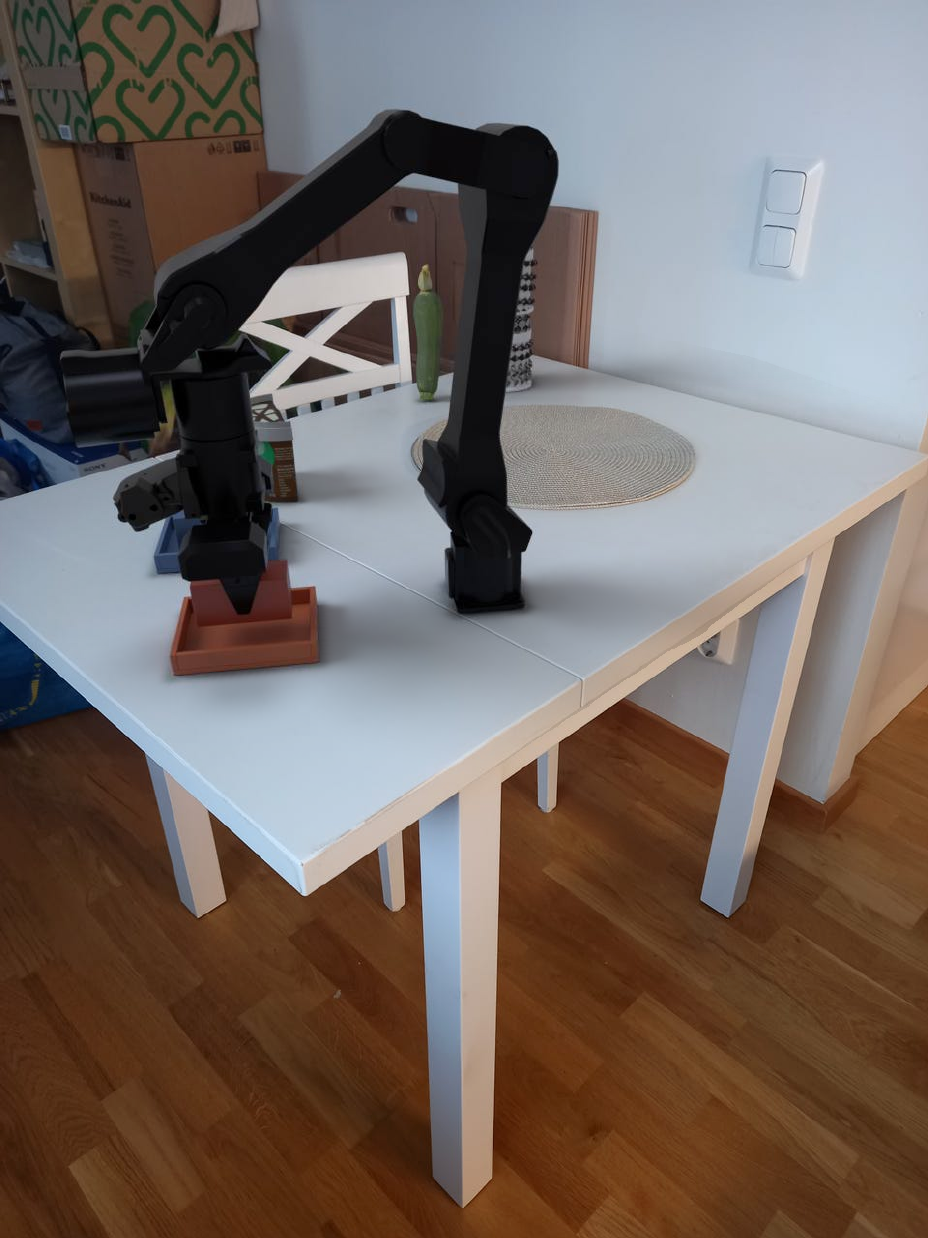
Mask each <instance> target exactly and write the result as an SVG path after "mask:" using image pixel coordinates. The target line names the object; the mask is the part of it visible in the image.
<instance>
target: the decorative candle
mask: <svg viewBox="0 0 928 1238" xmlns="http://www.w3.org/2000/svg"><path fill="white" fill-rule="evenodd" d="M538 264H539V262H538V260H536V258H534V248H533V245H532V246H531V248H530V250H529V252H528V254H527V256H526V258H525V261H524V265H523V272H522V279H521V286H520V293H519V300H518V307H517V315H516V322H515V329H514V336H513V343H512V350H511V357H510V364H509V371H508V378H507V385H506V392H505V393H513V392H520V391H524V390H527V389H529V388H531V386H532V385H533V384H532V380H531V378H532V377H533V371H532V370H531V368H533V366H534V365H533V361H532V359H531V357H532V356H533V350H532V348H531V347H533V346H534V342H533V339H532V327H531V314H532V312H533V311H534V309H535V307H534V304H535V302H536V300H535V298H533V297H532V296H531V292H533V291H535V290H536V289H537V286H536V285H535V284H534V283H533V281H534V280H536V279H537V274H536V273H534V272H533V271H532V269H534V267H535V266H537V265H538Z"/></svg>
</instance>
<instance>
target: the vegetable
mask: <svg viewBox="0 0 928 1238" xmlns="http://www.w3.org/2000/svg"><path fill="white" fill-rule="evenodd" d="M429 267H430V266H429V264H425V265H423V266H422V267H421V271H420V273H419V276H418V280H417V281H418V282H417V285H418V288H419V290H420V292H419V293H418V294H417V295H416V296H415V298H414V301H413V304H412V305H413V306H412V307H413V308H412V315H413V321H414V327H415V333H416V347H417V349H416V350H417V353H416V363H415V364H416V365H415V374H416V375H415V376H416V387H417V390H418V392H419V398H420V401H421V402H424V401H427V402H429V401H432V400H434V396H435V393H436V392H437V390H438V385H439V377H440V368H441V367H440V366H441V349H442V348H441V347H442V345H441V344H442V337H443V331H444V330H443V329H444V309H443V304H442V300H441V298H440V295H438V293H436V292H435V290H432V289H433V281H432V280H433V279H432V278H431V272H430V270H429V269H430V268H429Z"/></svg>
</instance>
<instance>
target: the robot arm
mask: <svg viewBox="0 0 928 1238" xmlns="http://www.w3.org/2000/svg"><path fill="white" fill-rule="evenodd" d="M559 165H560V160H559V155H558V152H557V150H556V149H555V147H554V146H553V144H552V142H551V141H550V139H549V138H548V136H546V135H545V133H543V132H542V131H541V130H539V129H538V128H535V127H532V126H530V125H524V124H515V123H504V122H503V123H502V122H489V123H485V124H482V125H480V126H478V127H476V128H475V129H473V128H469V127H464V126H460V125H456V124H453V123H448V122H442V121H439V120H435V119H431V118H426V117H423V116H421V115H420V114H419V113H418V112H415V111H412V110H410V109H400V108H391V109H385V110H382V111H380V112H379V113H377V114H376V115H375V116H374V117H373V118H372V120H371V121H370V122H369V124H368V125H367V126H366V128H364V129H363V130H361V131H360V132H359V133H358V134H356V135H355V136H354V137H352V138H351V139H350V140H349V141H347V142H346V143H345V144H344V145H342V146H341V147H340V148H339V149H337V150H336V151H335V152H334V153H333V154H331V155H330V156H329V157H327V158H326V159H325V160H323V161H322V162H321V163H319V164H318V165H317V166H315V168H313V169H311V171H309V172H308V173H307V174H306V175H304V176H303V177H302V178H300V179H299V180H298V181H296V183H294V184H293V185H292V186H290V187H289V188H288V189H287V190H285V191H284V192H283V193H282V194H280V195H279V196H278V197H276V198H275V199H274V200H273V201H271V202H270V203H269V204H268V205H266V206H265V207H264V208H262V209H260V211H259V212H257V213H256V214H255V215H253V216H252V217H251V218H249V220H247V221H245V222H243V223H241V224H239V225H237V226H234V227H233V228H231V229H228V230H226V231H223V232H220V233H219V234H216V235H213V236H211V237H209V238H206V239H204V240H203V241H200V242H198V243H196V244H194V245H193V246H191V247H189V248H187V249H184V250H183V251H181V252H179V253H177V254H175V255H173V256H171V257H170V258H168V259H166V260H165V262H163V264H162V265H161V266H160V267H159V268H158V270H157V272H156V274H155V276H154V281H153V298H154V303H155V307H154V309H153V311H152V312H151V314H150V316H149V318H148V320H147V322H146V323H145V325H144V327H143V328H142V329H140V335H139V336H138V338H137V346H135V347H123V348H114V349H113V348H112V349H103V350H86V349H72V350H70V349H69V350H63V351H62V352H61V353H60V358H59V364H60V368H61V372H62V377H63V386H64V391H65V397H66V407H65V408H66V409H65V411H66V416H67V421H68V424H69V428H70V432H71V435H72V438H73V440H74V443H75V446H76V448H85V447H86V448H87V447H95V446H102V445H110V444H119V443H127V442H138V441H144V440H146V441H147V440H153V439H156V433H159V432H160V433H161V431H162V430H161V425H165V424H169V423H168V422H169V421H168V415H167V411H166V406H165V400H164V395H163V389H162V383H161V382H165V381H169V384H170V385H169V386H170V390H171V395H172V396H171V397H172V400H173V406H174V411H175V417H176V423H177V428H178V433H179V439H180V449H179V452H178V453H176V456H175V457H172V458H168V459H165V460H163V461H160V462H158V463H155V464H153V465H151V466H147V467H146V468H144V469H141V470H139V471H137V472H134V473H132V474H130V475H128V476H126V477H125V478H123V479H122V480H120V482H119V484H118V485H117V488H116V491H115V492H114V494H113V497H112V499H113V501H114V503H113V505H114V507H115V508H116V509H117V520H118V521H119V522H120V523H124V524H127V523H128V525H129V526H130V527H131V528H132V530H133V531H134V532H135V533H139V532H143V531H146V530H148V529H149V528H150V526H151V525H154V524H155V523H158V522H160V521H162V520H165V519H166V518H168V517H170V516H172V515H175V514H177V513H179V512H180V511H182V510H184V515H185V519H196V518H200V522H201V523H202V524H203V525H193V526H192V528H191V529H190V530H189V531H188V532H187V533H186V534H185V536H184V537H183V539H182V543H181V547H180V550H179V554H178V561H179V566H180V571H181V572H180V575H181V579H182V580H184V581H186V582H187V583H189V582H190V583H191V582H192V581H205V580H217V579H219V580H220V582H221V584H222V586H223V588H224V590H225V592H226V594H227V596H228V598H229V600H230V601H231V603H232V605H233V607H234V609H235V611H236V613H237V614H238V615H248V614H250V613H251V609H252V606H253V602H254V599H255V596H256V592H257V589H258V585H259V582H260V579H261V576H262V574H264V573H266V572H267V560H268V551H269V541H267V540H266V537H267V532H268V528H269V524H270V520H271V514H272V508H273V504H272V502H265V501H264V499H265V492H266V494H273V487H274V480H273V473H272V465H271V464H270V463H269V462H268V461H267V460H265V459H264V458H263V457H261V456H260V455H258V446H259V437H258V430H255V427H254V421H253V414H252V406H251V399H250V398H251V393H250V385H249V377H248V373H256V372H267V371H270V370H272V368H273V363H272V360H271V359H270V357H269V356H268V354H267V352H266V350H264V349H262V348H261V347H259V346H257V345H256V344H254V342H253V341H252V340H251V339H250V338H249V336H248V335H247V333H245V332H241V333H240V334H239V336H238V337H237V339H236V340H235V341H234V342H233V343H232V344H231V345H225V344H226V343H228V342H229V341H230V340H231V339H232V338H233V337H234V336H235V334H236V333H237V332H238V331H239V330H240V329H241V328H242V327H243V326H244V325H245V324H246V322H247V321H248V320H249V318H250V317H252V315H253V314H254V313H255V312H256V311H257V309H259V307H260V306H261V304H262V303H263V301H264V300H265V298H266V297H267V295H268V294H269V292H270V291H271V289H272V288H273V286H274V285H275V283H276V282H278V280H279V279H280V278H281V277H282V275H283V274H285V272H286V271H287V270H289V269H290V268H291V267H292V266H294V265H295V264H296V263H298V262H299V261H301V259H302V258H304V257H305V256H306V255H307V254H309V253H311V251H313V250H314V249H315V248H317V247H318V246H319V245H320V244H322V243H323V242H324V241H326V240H327V239H328V238H330V236H331V235H334V234H335V233H336V232H337V231H338V230H340V229H341V228H342V227H344V226H345V225H346V224H347V223H349V222H350V221H351V220H352V219H354V218H356V217H357V216H358V215H359V214H360V213H361V212H362V211H364V210H366V209H367V208H368V207H369V206H370V205H371V204H373V203H374V202H375V201H376V200H378V199H380V198H381V197H382V196H383V195H384V194H386V193H387V192H388V191H389V190H391V189H392V188H393V187H394V186H396V185H397V184H398V183H400V182H401V181H402V180H403V179H405V178H406V177H408V176H410V175H412V174H415V175H421V176H424V177H429V178H432V179H433V178H434V179H437V180H442V181H445V182H450V183H455V184H457V194H458V195H457V196H458V209H459V214H460V220H461V226H462V230H463V235H464V239H465V245H466V258H465V267H464V274H463V275H464V276H463V285H462V294H461V303H460V311H459V321H458V329H457V337H456V346H455V348H456V349H455V356H454V365H453V374H452V381H451V392H450V401H449V409H448V418H447V421H446V425H445V426H444V429H443V431H442V433H441V434H440V436H439V438H438V439H437V440H433V439H427V438H424V439H423V440H422V446H421V448H422V449H421V450H422V451H421V452H422V466H421V470H420V473H419V474H418V477H417V479H416V481H417V482H418V483H419V484H420V485H421V487H422V488H423V491H424V495H425V498H426V499H427V501H428V503H429V505H431V507H432V508H433V510H434V511H435V512H436V514H438V516H439V517H440V518H441V520H442V521H443V522H444V524H445V525H446V527H448V529H449V530H450V532H449V536H450V537H449V541H450V542H449V543H450V547H446V548H445V549H444V580H445V581H444V582H445V589H446V592H447V596H448V597H449V599H450V600H453V604H454V607H455V611H456V613H459V614H468V613H480V612H490V611H502V610H503V611H504V610H514V609H522V608H525V606H526V600H525V598H524V595H523V593H522V564H523V563H522V562H523V561H522V560H523V557H522V555H523V553H525V552H526V551H527V549H528V546H529V544H530V541H531V538H532V536H533V529H532V528H530V526H529V525H528V524H527V523H526V522H525V521H524V520H523V519H522V517H520V515H518V514H517V513H516V512H515V510H514V509H513V508H511V506H510V505H509V502H508V501H509V498H508V497H509V496H508V472H507V467H506V463H505V457H504V452H503V447H502V442H501V426H502V419H503V413H504V406H505V399H506V393H507V392H506V385H507V378H508V371H509V364H510V357H511V350H512V343H513V336H514V329H515V322H516V315H517V307H518V300H519V293H520V286H521V279H522V272H523V265H524V261H525V258H526V256H527V254H528V252H529V250H530V248H531V246H532V247H533V244H534V243H535V241H536V239H537V238H538V236H539V234H540V232H541V230H542V229H543V226H544V224H545V222H546V221H547V216H548V213H549V210H550V207H551V203H552V200H553V196H554V193H555V189H556V186H557V183H558V178H559V169H560V167H559ZM194 353H195V356H196V357H193V358H189V357H191V356H192V355H193V354H194Z"/></svg>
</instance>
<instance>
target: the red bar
mask: <svg viewBox="0 0 928 1238" xmlns="http://www.w3.org/2000/svg"><path fill="white" fill-rule="evenodd" d="M291 588H292V584H291V577H290V568H289V562H288V559H279V560H276V561H267V572H266V573H264V574H262V576H261V579H260V582H259V585H258V589H257V592H256V596H255V599H254V602H253V606H252V609H251V613H250V614H248V615H238V614H237V613H236V611H235V609H234V607H233V605H232V603H231V601H230V600H229V598H228V596H227V594H226V592H225V590H224V588H223V586H222V584H221V582H220V580H219V579H217V580H205V581H192V582H190V584H189V592H190V596H191V597H192V602H193V607H194V612H195V617H196V623H197V627H204V626H215V625H226V624H238V623H249V622H261V621H272V620H283V619H292V591H291Z"/></svg>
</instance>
